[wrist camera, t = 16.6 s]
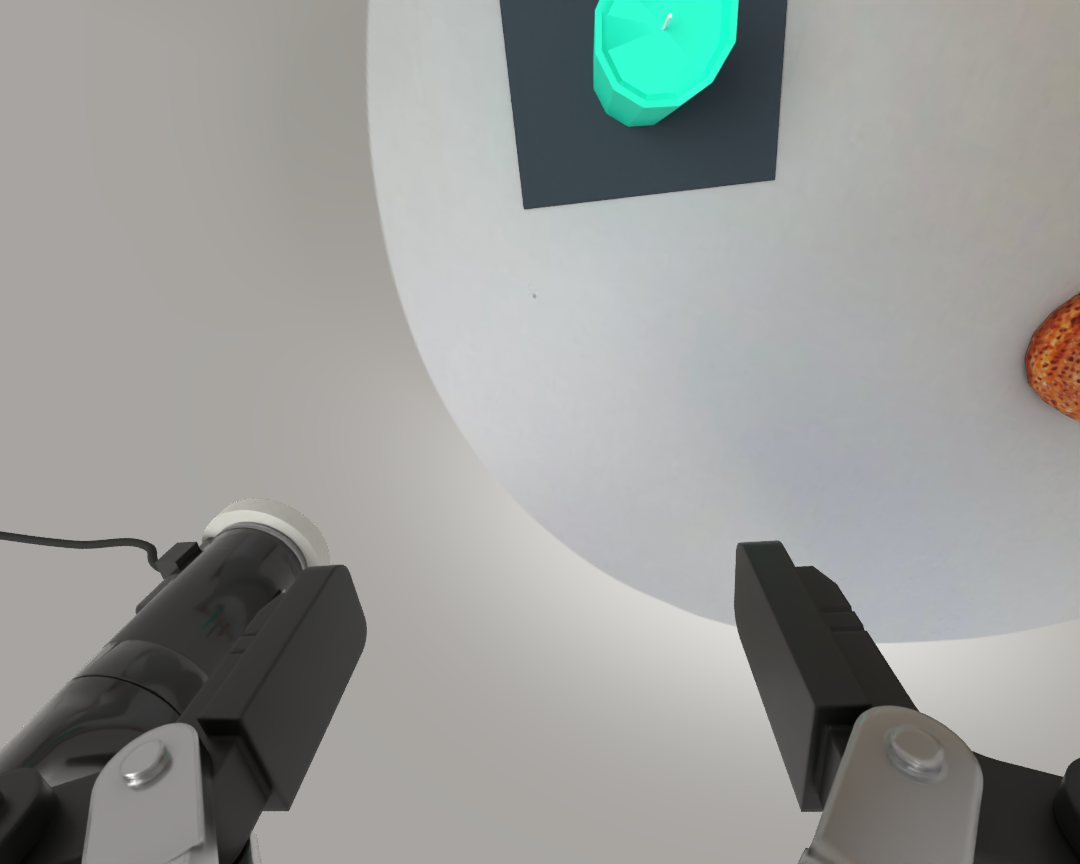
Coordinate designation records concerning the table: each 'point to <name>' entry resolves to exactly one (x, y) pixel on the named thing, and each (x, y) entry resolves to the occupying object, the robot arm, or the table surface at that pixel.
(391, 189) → the table surface
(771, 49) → the mat
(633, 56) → the candle
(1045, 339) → the figurine
